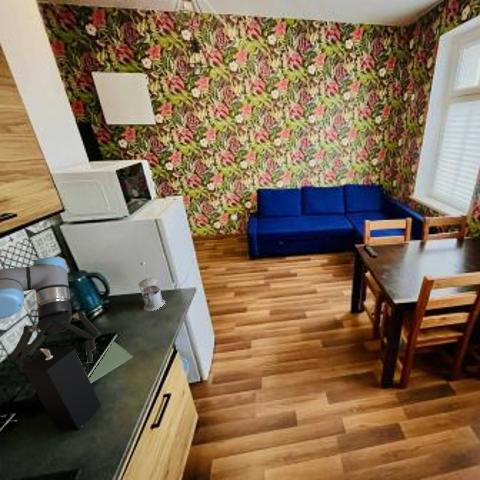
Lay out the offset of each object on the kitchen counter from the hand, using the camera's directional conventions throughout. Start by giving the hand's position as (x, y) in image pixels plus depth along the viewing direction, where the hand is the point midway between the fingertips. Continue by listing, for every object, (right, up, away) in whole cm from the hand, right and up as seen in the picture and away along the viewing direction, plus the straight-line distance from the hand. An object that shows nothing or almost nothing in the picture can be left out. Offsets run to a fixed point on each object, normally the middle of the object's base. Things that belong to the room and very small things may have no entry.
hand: (61, 372), depth 79 cm
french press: (-9, +6, +58) cm, 59 cm away
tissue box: (+1, -17, +5) cm, 18 cm away
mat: (-11, -8, +25) cm, 28 cm away
